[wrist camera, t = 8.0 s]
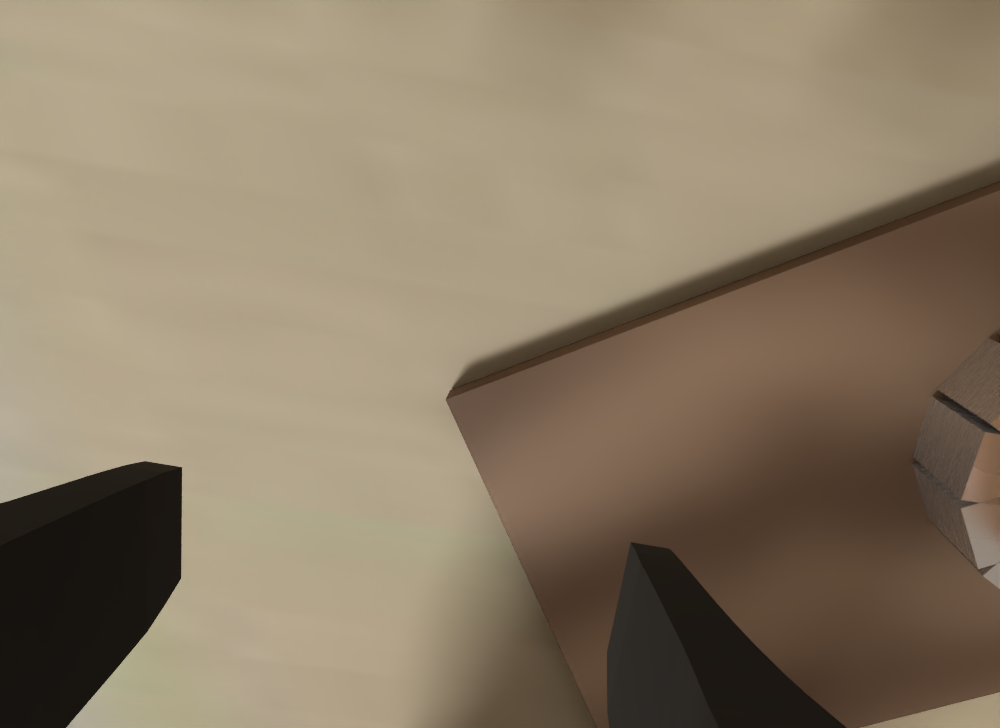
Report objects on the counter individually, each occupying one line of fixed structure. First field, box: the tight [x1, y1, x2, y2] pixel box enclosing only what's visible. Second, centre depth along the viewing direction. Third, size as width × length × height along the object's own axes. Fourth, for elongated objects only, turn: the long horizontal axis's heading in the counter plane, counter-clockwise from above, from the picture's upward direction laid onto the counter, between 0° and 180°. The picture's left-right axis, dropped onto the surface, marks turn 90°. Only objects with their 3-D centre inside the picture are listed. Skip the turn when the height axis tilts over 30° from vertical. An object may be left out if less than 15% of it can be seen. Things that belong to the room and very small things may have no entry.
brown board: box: [446, 182, 1000, 728], centre depth 20 cm, size 14×20×1 cm
